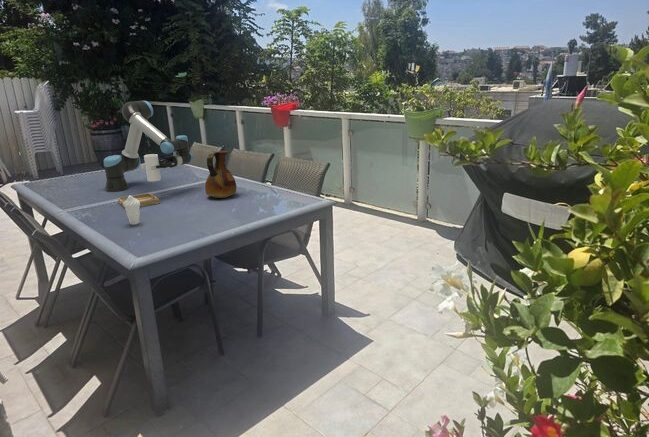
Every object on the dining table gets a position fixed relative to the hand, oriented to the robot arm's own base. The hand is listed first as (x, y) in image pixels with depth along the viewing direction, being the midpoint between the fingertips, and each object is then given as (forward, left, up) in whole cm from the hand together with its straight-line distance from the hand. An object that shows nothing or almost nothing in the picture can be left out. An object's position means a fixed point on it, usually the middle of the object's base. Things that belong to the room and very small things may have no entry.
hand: (146, 167), depth 284 cm
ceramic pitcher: (+20, +39, -22) cm, 49 cm away
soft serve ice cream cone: (+42, -21, -22) cm, 52 cm away
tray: (0, -8, -22) cm, 23 cm away
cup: (-2, +4, -9) cm, 10 cm away
